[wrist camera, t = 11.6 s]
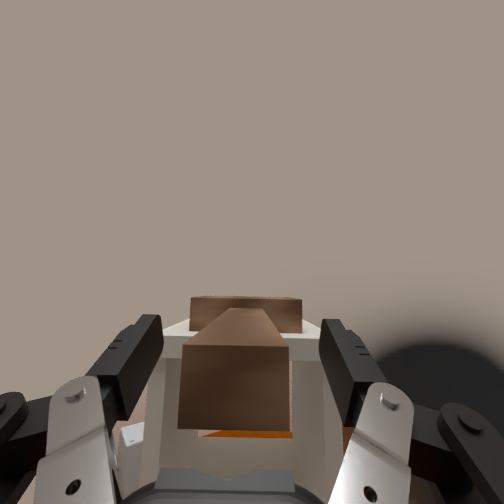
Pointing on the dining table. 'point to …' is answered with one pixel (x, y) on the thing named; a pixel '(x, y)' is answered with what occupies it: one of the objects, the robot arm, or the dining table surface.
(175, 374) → the shelf stand
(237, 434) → the dining table surface
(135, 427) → the skincare box
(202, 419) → the walnut mallet
